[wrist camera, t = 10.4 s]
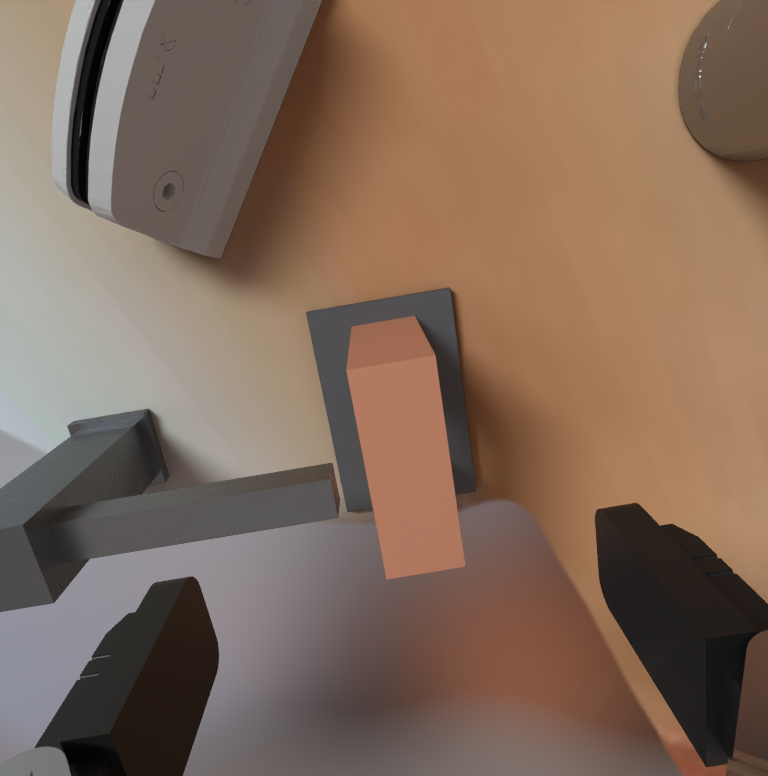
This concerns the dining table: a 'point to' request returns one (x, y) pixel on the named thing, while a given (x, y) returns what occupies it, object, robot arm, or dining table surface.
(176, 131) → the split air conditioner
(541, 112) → the dining table surface
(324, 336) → the mat
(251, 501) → the bracket
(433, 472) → the pink block
